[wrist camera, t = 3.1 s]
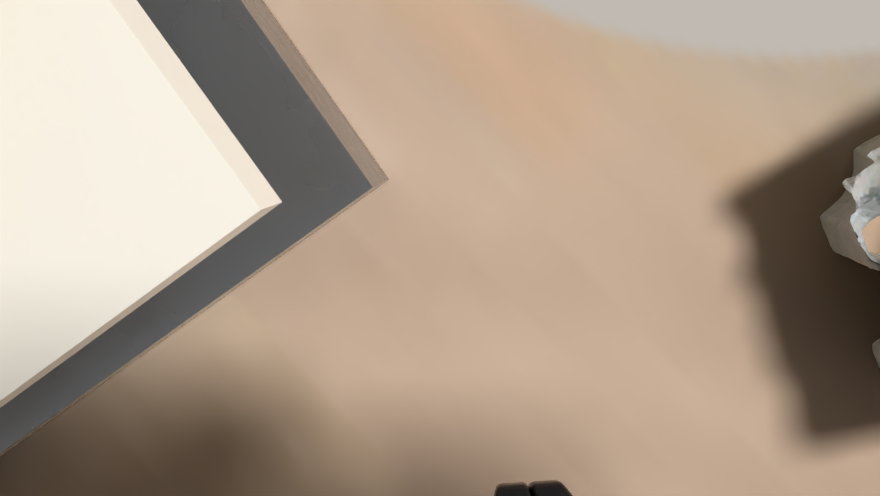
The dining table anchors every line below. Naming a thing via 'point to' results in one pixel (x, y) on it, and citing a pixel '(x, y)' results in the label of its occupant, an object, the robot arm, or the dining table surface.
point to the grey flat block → (273, 152)
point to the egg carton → (857, 211)
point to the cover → (102, 177)
